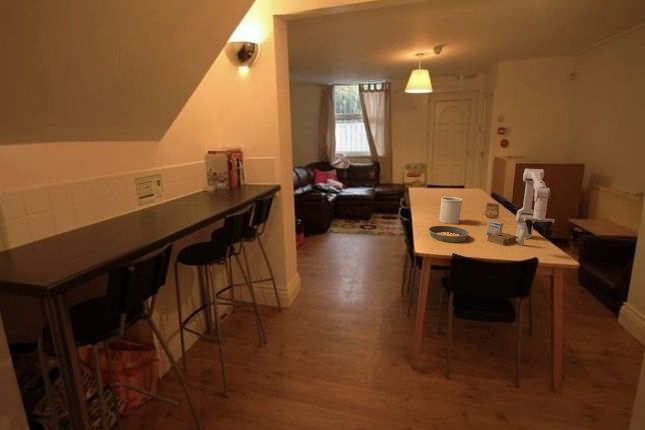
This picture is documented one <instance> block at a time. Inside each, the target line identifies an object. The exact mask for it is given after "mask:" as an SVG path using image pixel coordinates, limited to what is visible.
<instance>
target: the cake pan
mask: <svg viewBox="0 0 645 430" xmlns="http://www.w3.org/2000/svg"><path fill="white" fill-rule="evenodd" d="M427 230H428V232H429V235H430V237H431V239H434V240H437V241H440V240H441V242H448V243H461V242H465V241H466V239H467V236H469V234H470V232H469V231H468V230H466V229H464V228H461V227H459V226H458V227H457V226H452V225H434V226H433V225H432V226H430V227H428V228H427ZM435 232H436V233H435ZM441 232H446V233H447V232H449V234H450V233H452V234H453V233H455V234H459V236H447V235H444V234H442V233H441ZM439 233H440V234H439ZM452 234H451V235H452ZM455 234H454V235H455Z"/></svg>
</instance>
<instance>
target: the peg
mask: <svg viewBox="0 0 645 430" xmlns="http://www.w3.org/2000/svg"><path fill="white" fill-rule="evenodd" d="M525 232H526V231H525V230H520V233H519V238H518V239H517V246H521V247H523V246H524V244H525V239H524V238H525Z"/></svg>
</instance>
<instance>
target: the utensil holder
mask: <svg viewBox="0 0 645 430" xmlns="http://www.w3.org/2000/svg"><path fill="white" fill-rule="evenodd" d="M463 200H464V199H462V198H460V197H455V196H442V197H440V209H439V222H440V223H443V224H448V225H449V224H450V225H458V224H459V223H460V218H461V212H462V211H461V210H462V205H463V204H462V203H463V202H464V201H463Z"/></svg>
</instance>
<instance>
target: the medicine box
mask: <svg viewBox="0 0 645 430" xmlns="http://www.w3.org/2000/svg"><path fill="white" fill-rule="evenodd" d="M487 223H488V224H487V228H486V229H487V230H486V235H487V236H488V235H492V234H496V233H499V232H503V227H504V223H503V222H498V221H493V220H490V221H488V222H487Z"/></svg>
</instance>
